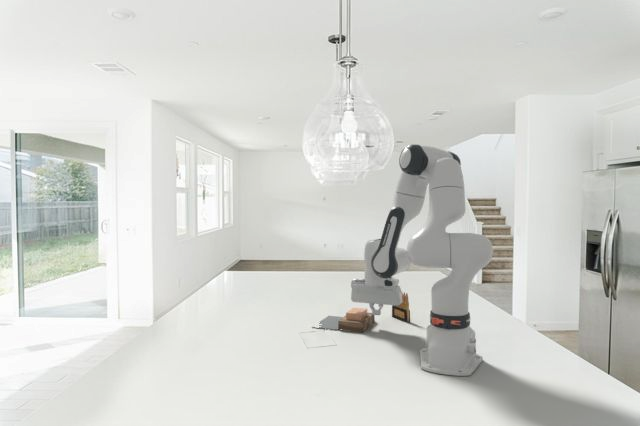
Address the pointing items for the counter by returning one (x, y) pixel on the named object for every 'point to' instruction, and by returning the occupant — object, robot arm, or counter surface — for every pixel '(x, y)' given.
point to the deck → (356, 323)
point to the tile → (356, 313)
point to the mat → (330, 322)
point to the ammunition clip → (402, 309)
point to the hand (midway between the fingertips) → (376, 314)
